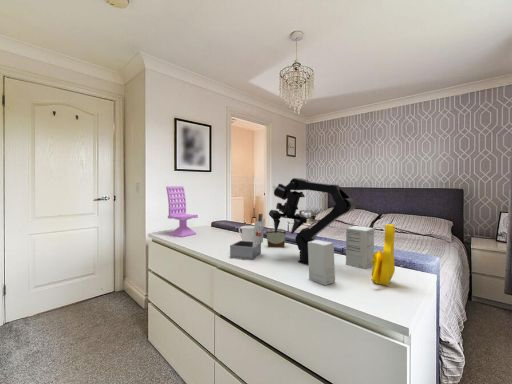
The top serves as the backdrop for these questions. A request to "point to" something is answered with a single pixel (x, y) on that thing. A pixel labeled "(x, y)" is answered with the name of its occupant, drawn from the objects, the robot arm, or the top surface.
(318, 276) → the skincare box
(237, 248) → the grey open box
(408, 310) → the top surface
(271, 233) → the food container
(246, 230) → the mug
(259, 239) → the tabbed silver plate
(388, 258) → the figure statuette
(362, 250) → the supplement box
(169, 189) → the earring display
